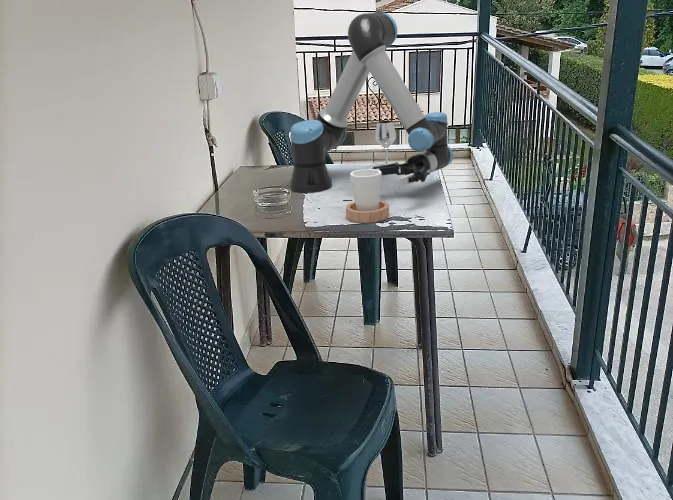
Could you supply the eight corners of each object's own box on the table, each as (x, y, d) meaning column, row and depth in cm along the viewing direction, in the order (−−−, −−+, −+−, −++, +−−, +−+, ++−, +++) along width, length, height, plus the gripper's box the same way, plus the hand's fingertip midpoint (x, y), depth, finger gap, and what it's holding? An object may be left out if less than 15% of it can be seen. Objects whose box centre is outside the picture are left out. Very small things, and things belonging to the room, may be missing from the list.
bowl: (338, 219, 197) (337, 208, 195) (364, 207, 206) (363, 197, 204) (371, 225, 189) (371, 214, 187) (397, 213, 198) (396, 203, 196)
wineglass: (397, 169, 249) (396, 122, 243) (377, 170, 250) (374, 124, 243) (396, 164, 257) (394, 119, 250) (376, 165, 257) (374, 120, 251)
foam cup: (361, 220, 191) (359, 178, 186) (347, 213, 199) (344, 172, 194) (388, 214, 195) (387, 173, 190) (373, 207, 203) (371, 167, 198)
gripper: (453, 180, 208) (416, 196, 194) (391, 171, 224) (353, 186, 209) (453, 157, 206) (416, 172, 191) (390, 150, 221) (352, 164, 207)
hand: (383, 179), depth 200 cm, fingers open, 13 cm apart
